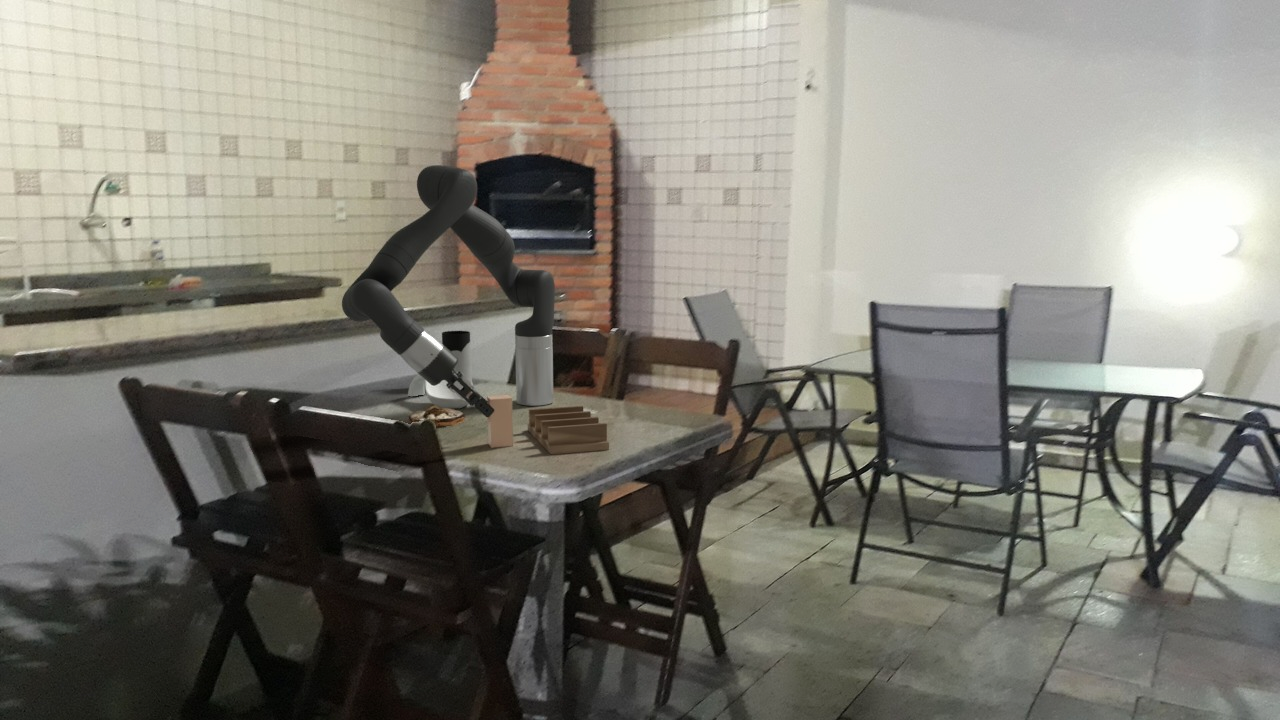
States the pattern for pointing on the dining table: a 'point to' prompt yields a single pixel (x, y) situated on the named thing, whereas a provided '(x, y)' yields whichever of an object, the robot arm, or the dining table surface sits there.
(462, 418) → the pie
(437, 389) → the spoon rest
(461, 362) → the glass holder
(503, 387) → the dining table surface
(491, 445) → the clay block
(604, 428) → the walnut rack
